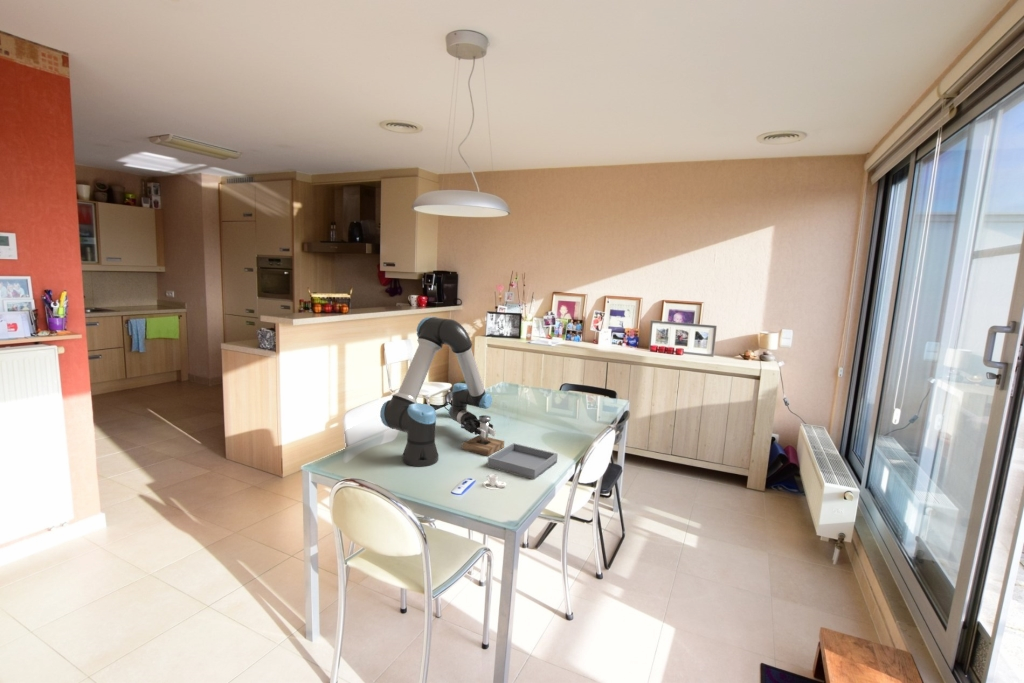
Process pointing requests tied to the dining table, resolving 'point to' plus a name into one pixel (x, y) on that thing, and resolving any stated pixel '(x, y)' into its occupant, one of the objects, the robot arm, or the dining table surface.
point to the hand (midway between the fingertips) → (489, 434)
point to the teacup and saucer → (494, 482)
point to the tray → (522, 460)
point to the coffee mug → (448, 402)
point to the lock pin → (484, 428)
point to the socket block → (483, 446)
